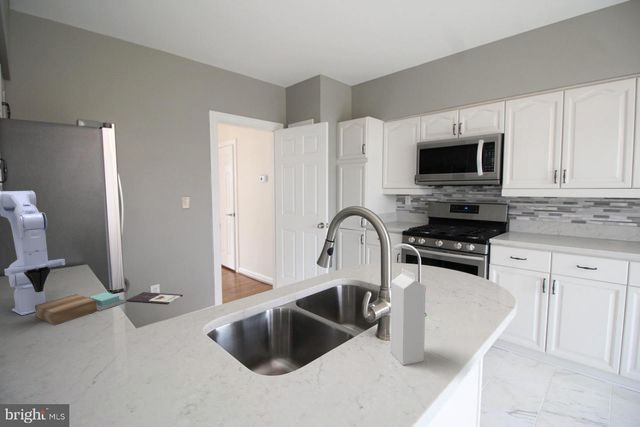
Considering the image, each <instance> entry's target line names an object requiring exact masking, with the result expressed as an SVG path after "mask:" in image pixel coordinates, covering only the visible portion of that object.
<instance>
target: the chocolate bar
mask: <svg viewBox="0 0 640 427" xmlns="http://www.w3.org/2000/svg"><path fill="white" fill-rule="evenodd" d="M182 297H183V294H177V293H175V294H174V293H161V292H150V291H149V292H145V291H143V292H141V293H139V294H136V295H135V296H132V297H130V298H127V299H126V300H125V301H128V302H127V303H139V304H153V305H170V304H171V303H173V302H175V301H176V300H178V299H180V298H182Z"/></svg>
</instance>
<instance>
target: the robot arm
mask: <svg viewBox="0 0 640 427" xmlns="http://www.w3.org/2000/svg"><path fill="white" fill-rule="evenodd" d="M0 217H3V218H6V219H7V220H8V222H9V224H10V228H11V232H12V237H13V238H12V239H13V244H14V249H15V254H16V260H15V261H13V262H12V263H11V264H10V265H9V266H8V268H4V271H3V272H4V276H7V277H8V282H9V286H10V287H11V288H13V289H14V288H15V289H14V290H13V291H14V292H13V298H14V300H13V301H14V308H12V309H11V311H12V312H15V313H16V314H18V315H21V316H25V315H28V314H31V313H32V314H33V313H36V312H35V305H37V304H41V303H45V302H46V296H45V295H46V294H45V284H46V282H48V281H49V277H50V273H51V269H50V268H54V267H59V266H65V265H66V260H65V258H60V259H51V260H49V258H48V257H49V256H48V248H47V247H48V246H47V236H46V230H47V228H48V219H47V216H46V213H45V212H41V211H40V210H39V209H38V208H37V195H36V192H34V191H33V190H14V191H13V190H12V191H7V190H6V191H4V190H3V191H1V190H0Z"/></svg>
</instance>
